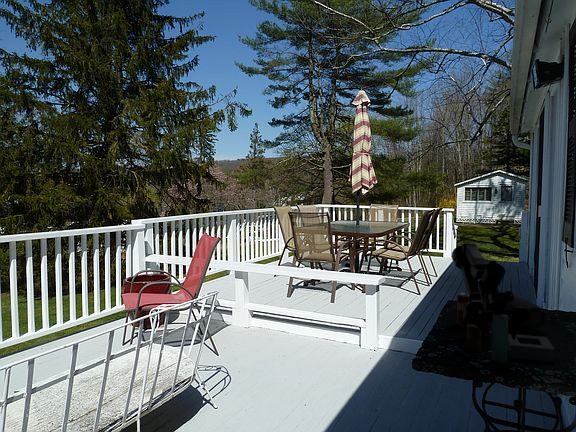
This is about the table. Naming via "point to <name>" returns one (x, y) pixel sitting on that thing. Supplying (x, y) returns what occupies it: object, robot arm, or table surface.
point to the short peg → (473, 338)
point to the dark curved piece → (536, 313)
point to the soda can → (461, 308)
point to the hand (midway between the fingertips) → (501, 339)
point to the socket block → (531, 348)
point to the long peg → (500, 338)
